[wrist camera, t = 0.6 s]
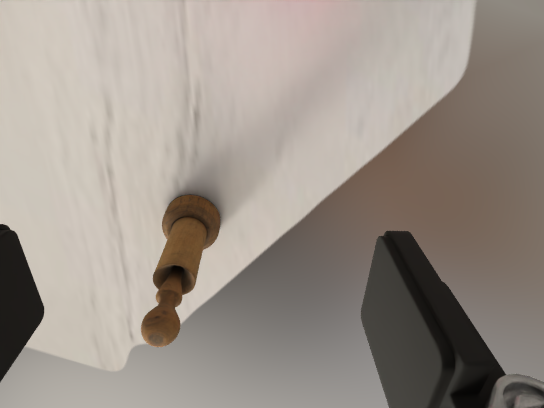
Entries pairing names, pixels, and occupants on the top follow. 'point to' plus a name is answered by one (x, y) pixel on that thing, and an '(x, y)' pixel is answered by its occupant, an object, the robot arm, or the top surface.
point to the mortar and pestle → (179, 263)
